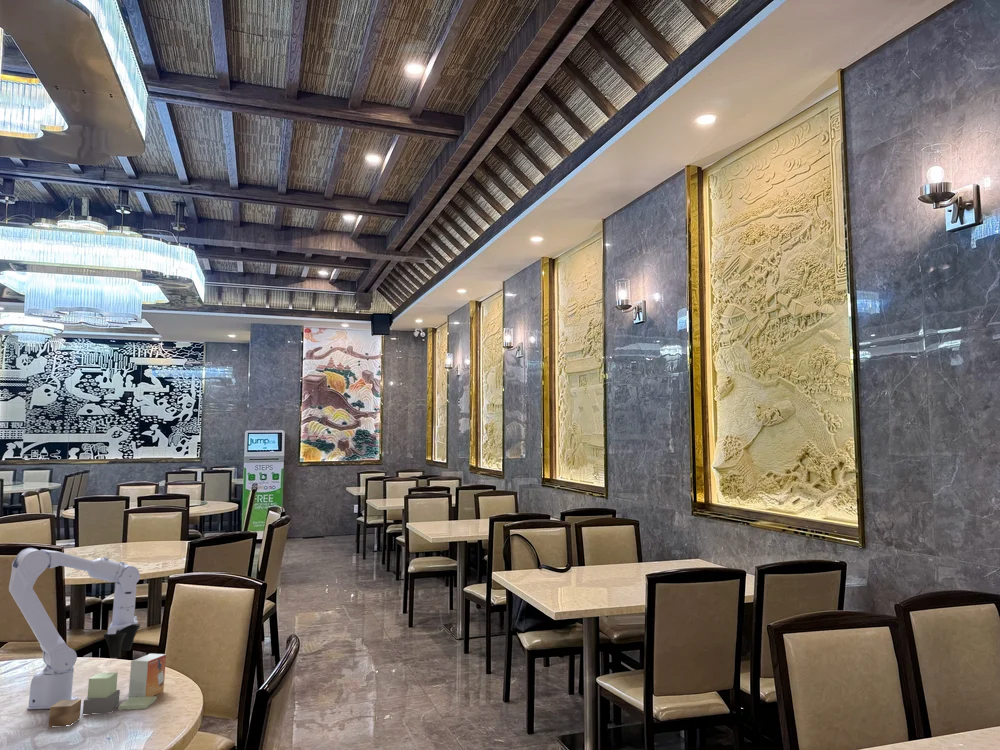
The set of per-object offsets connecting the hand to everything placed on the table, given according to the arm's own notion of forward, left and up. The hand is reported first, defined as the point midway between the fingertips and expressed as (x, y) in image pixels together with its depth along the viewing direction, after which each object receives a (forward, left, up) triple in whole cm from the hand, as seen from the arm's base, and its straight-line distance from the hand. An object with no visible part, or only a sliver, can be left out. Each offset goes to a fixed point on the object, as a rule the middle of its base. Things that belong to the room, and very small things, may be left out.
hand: (120, 653), depth 196 cm
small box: (+10, -5, -11) cm, 15 cm away
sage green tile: (+11, -13, -10) cm, 20 cm away
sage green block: (+2, -15, -7) cm, 17 cm away
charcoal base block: (+2, -16, -11) cm, 19 cm away
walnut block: (-2, -25, -10) cm, 27 cm away
